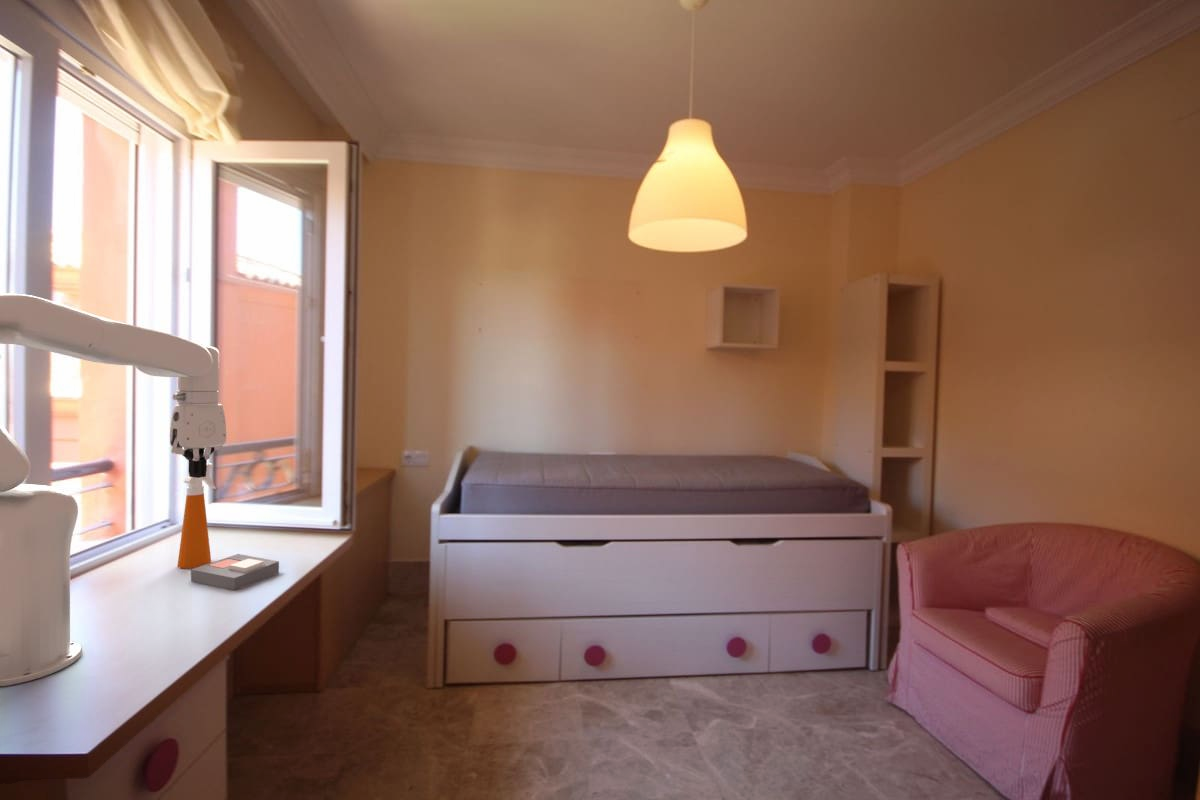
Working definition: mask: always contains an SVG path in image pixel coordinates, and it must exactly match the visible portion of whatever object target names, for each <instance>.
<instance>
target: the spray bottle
mask: <svg viewBox="0 0 1200 800" xmlns="http://www.w3.org/2000/svg"><path fill="white" fill-rule="evenodd" d="M213 467H214V464H213V463H212V462H209V463H207V471H206V477H200V478H195V477H190V476H189V474H188V475H187V476H186V477H185V478H184V480H183V482H184V483H185V484H188V485H187V487H186V498H185V504H184V513H183V519H182V528H181V535H180V542H179V543H180V544H179V550H178V551H179V552H178V557H177V558H178V559H177V568H178V569H179V568H180V569H184V570H185V569H187V570H188V569H189V570H190V569H194V568H197V567H200V566H203V565H206V564H209V563H212V556H211V548H210V537H209V530H208V521H207V520H208V519H207V511H206V510H207V509H206V503H205V502H206V499H205V492H204V491H205V490H204V489H205V488H204V487H205V486H204V485H203V482H204V483H205V484H206V485H207V486H208V487H209V488H211V489H214V490H217V487H216V486H215V484H214V483H213V481H212V479H211V476H210V474H211V469H212V468H213Z"/></svg>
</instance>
